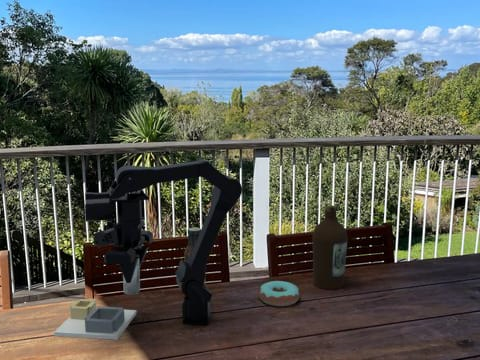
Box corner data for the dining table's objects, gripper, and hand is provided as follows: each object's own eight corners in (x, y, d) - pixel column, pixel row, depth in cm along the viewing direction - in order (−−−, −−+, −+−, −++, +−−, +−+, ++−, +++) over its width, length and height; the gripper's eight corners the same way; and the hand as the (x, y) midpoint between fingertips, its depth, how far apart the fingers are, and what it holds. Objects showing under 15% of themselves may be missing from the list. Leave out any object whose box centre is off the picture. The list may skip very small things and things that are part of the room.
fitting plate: (136, 313, 127) (135, 299, 126) (117, 339, 113) (116, 324, 112) (80, 310, 129) (79, 296, 128) (54, 336, 115) (53, 320, 114)
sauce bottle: (202, 298, 136) (201, 233, 133) (181, 297, 137) (180, 231, 134) (208, 290, 143) (207, 226, 139) (188, 288, 144) (187, 225, 140)
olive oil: (304, 283, 147) (306, 206, 143) (324, 275, 155) (326, 201, 150) (332, 293, 140) (335, 212, 136) (352, 284, 147) (355, 206, 143)
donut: (253, 294, 140) (253, 281, 140) (290, 289, 144) (290, 277, 143) (266, 311, 129) (266, 297, 128) (306, 305, 132) (306, 292, 132)
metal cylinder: (142, 288, 118) (141, 254, 117) (137, 294, 115) (136, 259, 113) (126, 287, 119) (125, 253, 117) (121, 293, 115) (119, 258, 113)
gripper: (111, 208, 124) (114, 265, 126) (80, 227, 105) (83, 292, 108) (153, 209, 122) (154, 266, 125) (128, 229, 104) (130, 295, 107)
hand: (131, 279), depth 116 cm, fingers closed on metal cylinder, 4 cm apart
